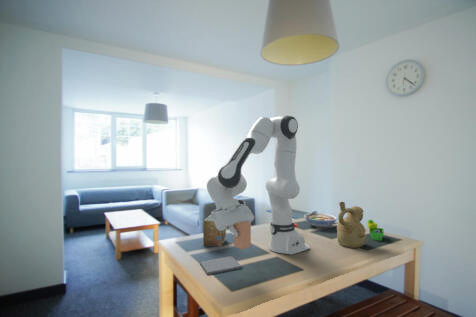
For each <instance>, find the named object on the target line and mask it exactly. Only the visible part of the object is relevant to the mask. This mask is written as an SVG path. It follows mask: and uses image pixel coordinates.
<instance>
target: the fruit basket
mask: <svg viewBox="0 0 476 317" xmlns="http://www.w3.org/2000/svg"><path fill="white" fill-rule="evenodd" d="M366 223H367V228H368V230H369V234H370V237H371V240H373V241H380V242H381V241H382V240H383V236H384V234H385V232H384V228H381V227H378V223H377V222H375V221H374V220H373V219H367V222H366Z"/></svg>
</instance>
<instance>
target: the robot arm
mask: <svg viewBox="0 0 476 317" xmlns="http://www.w3.org/2000/svg"><path fill="white" fill-rule="evenodd" d="M298 128H299V124H298V120H297V119H296V117H294V116H292V115H281V116H279V115H277V116H275V117H269V118H268V116H267V117H266V116H262V117H259V118H258V119H256V121H255V122H254V124H253V125H252V126H251V128H250V130H249V132H248V133H247V135H246V137H245V138H244V139H243V140H242V141H241V142H240V144H239V145H238V147H237V148H236V149H235V151H234V152H233V154H232V156H231V157H230V158H229V160H228V161H227V162H226V163H225V164H224V165H222V166H221V167H220V169H219V171H218V174H217V175H215V176H212V177H211V178H210V179H208V181H207V182H206V189H207V192H208V195H209V196H210V198H211V201H213V202H214V204H215V207H216V209H217V210H216V209H213V210H212V211H211V212H210V215H212V217H213V220H214V223H215V225H216V228H217V229H218V230H219V231H221V230H225V229H226V230H228V231H229V232H230V233H232V234H233V236H234V235H235V237H236V236H239V235H240V233H239V231H237V230H235V229H234V224H235V223H238V222H242V221H246V222H250V223H251V224H252V223H253V221H254V220H255V215H254V213H253V212H252V210H251V209H250V208H249V206H248V205H246V201H245V200H242V199H237V198H234V197H237V196H238V195H241V194H242V193H244V191H245V190H246V188H247V185H248V184H247V179H246V178H245V177H244V175H243V173H242V168H243V166H244V164H245V162H246V161H247V159H248V158H249V156H250V155H251V154H255V155H258V154H261V153H264V151H265V149H266V148H267V147H268V145H269V143H270V140H271V138H273V139H274V138H276V141H277V143H276V148H275V155H274V163H273V165H274V168H275V171H276V176H272V177H269V178H268V179H267V180H266V182H265V189H266V191H267V193H268V197H269V201H270V202H269V203H270V208H271V209H270V213H271V214H270V215H271V216H270V217H271V218H270V220H271V222H270V239H269V243H268V247H267V248H268V249H269V251H271V252H273V253H276V254H277V253H279V254H286V255H294V254H297V253H301V252H304V251H307V250H310V246H309V244H307V243H305V242H306V239H305V237H304V236H303V235H302V234H301V233H300V232H298V231H297V230H296V229H295V228H299V224H298V223H294V222H293V209H292V206H291V205H290V201H289V200H291V199H295V198H296V197H298V195H299V193H300V190H301V189H300V188H301V186H300V185H299V183H298V181H297V177H296V171H295V170H296V169H295V164H296V156H297V133H298Z"/></svg>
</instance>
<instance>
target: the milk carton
mask: <svg viewBox="0 0 476 317" xmlns="http://www.w3.org/2000/svg"><path fill="white" fill-rule="evenodd" d="M215 210H217V208H216V209H215ZM202 222H203V226H202V227H203V232H202V233H203V240H202V241H203V242H202V243H203V244H202V245H203V246H210V247H211V246H212V247H222V246H223V245H224V243H225V242H226V241H227V229H225V230H221V231H219V230H218V229H217V228H216V225H215V223H214V220H213V217H212V215H211V214H210V215H208V216H207V217H205V218H204V219H203V221H202Z"/></svg>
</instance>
